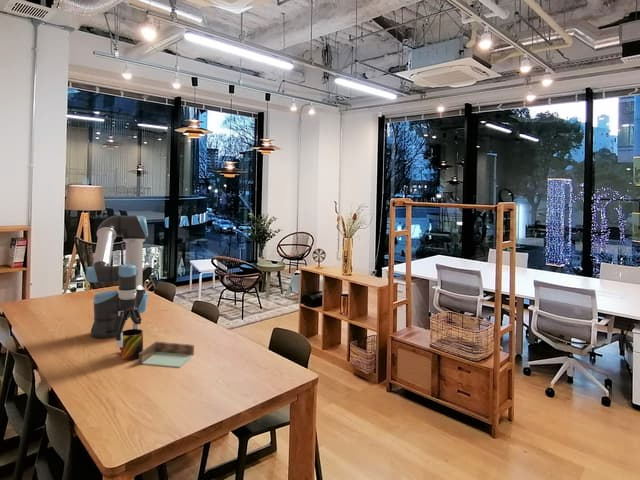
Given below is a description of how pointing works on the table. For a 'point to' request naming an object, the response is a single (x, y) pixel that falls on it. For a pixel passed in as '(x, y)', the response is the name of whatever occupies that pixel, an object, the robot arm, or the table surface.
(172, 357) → the mat
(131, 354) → the mug
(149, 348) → the walls
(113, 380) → the table surface
